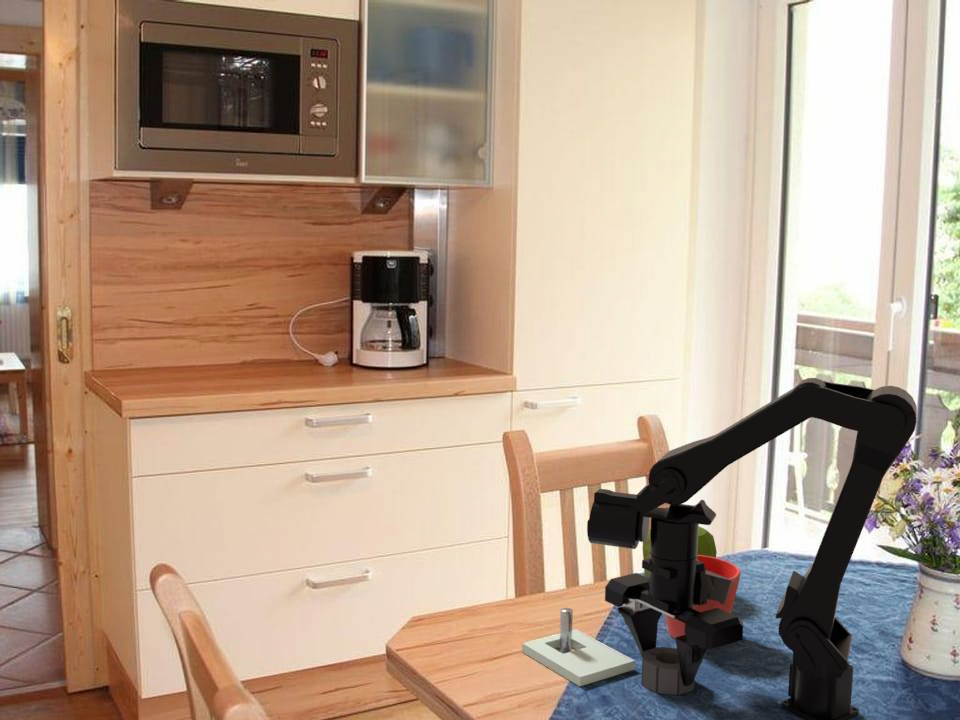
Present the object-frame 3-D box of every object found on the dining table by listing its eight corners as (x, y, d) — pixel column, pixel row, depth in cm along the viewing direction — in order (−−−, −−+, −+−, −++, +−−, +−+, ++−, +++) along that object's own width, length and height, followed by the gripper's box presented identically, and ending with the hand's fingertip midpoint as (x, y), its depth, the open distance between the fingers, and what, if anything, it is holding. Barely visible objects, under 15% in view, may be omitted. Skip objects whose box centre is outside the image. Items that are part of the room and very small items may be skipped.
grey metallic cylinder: (573, 654, 139) (575, 610, 139) (564, 657, 139) (565, 613, 138) (566, 650, 141) (567, 607, 140) (556, 652, 140) (558, 609, 139)
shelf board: (634, 669, 135) (635, 660, 135) (579, 686, 130) (579, 677, 130) (575, 637, 145) (575, 628, 145) (522, 651, 140) (522, 643, 140)
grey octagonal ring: (705, 686, 131) (706, 661, 130) (667, 698, 127) (668, 673, 127) (668, 667, 136) (669, 643, 136) (631, 679, 132) (631, 654, 132)
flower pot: (738, 653, 141) (742, 583, 139) (654, 645, 143) (657, 576, 141) (735, 623, 151) (739, 557, 149) (657, 616, 153) (660, 551, 152)
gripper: (778, 563, 126) (771, 687, 128) (668, 523, 141) (663, 635, 144) (711, 581, 120) (705, 711, 122) (604, 537, 135) (600, 653, 137)
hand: (668, 674), depth 131 cm, fingers closed on grey octagonal ring, 6 cm apart
